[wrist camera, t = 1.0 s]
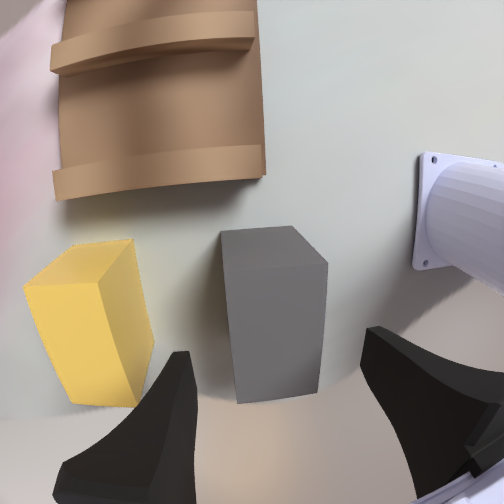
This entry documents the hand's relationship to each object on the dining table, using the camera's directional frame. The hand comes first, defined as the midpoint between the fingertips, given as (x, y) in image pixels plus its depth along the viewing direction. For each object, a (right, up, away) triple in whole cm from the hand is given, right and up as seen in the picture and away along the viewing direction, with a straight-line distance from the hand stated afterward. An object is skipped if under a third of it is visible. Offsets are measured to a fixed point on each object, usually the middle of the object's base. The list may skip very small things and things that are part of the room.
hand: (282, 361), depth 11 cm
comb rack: (-6, +15, +2) cm, 16 cm away
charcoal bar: (-1, +2, +7) cm, 7 cm away
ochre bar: (-10, +2, +6) cm, 11 cm away
